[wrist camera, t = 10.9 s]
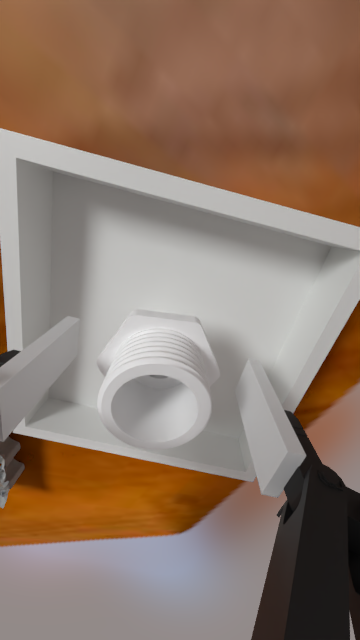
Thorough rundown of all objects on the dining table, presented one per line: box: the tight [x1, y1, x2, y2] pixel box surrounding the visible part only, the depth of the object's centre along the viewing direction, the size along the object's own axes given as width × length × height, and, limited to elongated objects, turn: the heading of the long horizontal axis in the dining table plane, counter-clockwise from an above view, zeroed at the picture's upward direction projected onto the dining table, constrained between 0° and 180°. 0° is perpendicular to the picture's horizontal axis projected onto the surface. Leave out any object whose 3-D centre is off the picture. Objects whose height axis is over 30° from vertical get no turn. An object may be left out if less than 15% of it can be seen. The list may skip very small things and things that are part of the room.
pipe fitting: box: [96, 309, 220, 450], centre depth 14 cm, size 6×7×8 cm
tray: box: [0, 128, 360, 482], centre depth 17 cm, size 20×20×4 cm
